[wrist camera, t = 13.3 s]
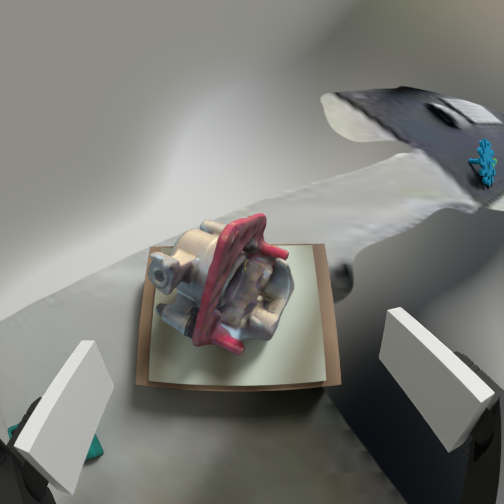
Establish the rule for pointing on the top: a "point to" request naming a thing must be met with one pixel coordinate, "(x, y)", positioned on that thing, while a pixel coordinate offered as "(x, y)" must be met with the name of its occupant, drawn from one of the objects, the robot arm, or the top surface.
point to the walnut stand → (256, 351)
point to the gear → (485, 162)
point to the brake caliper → (224, 283)
